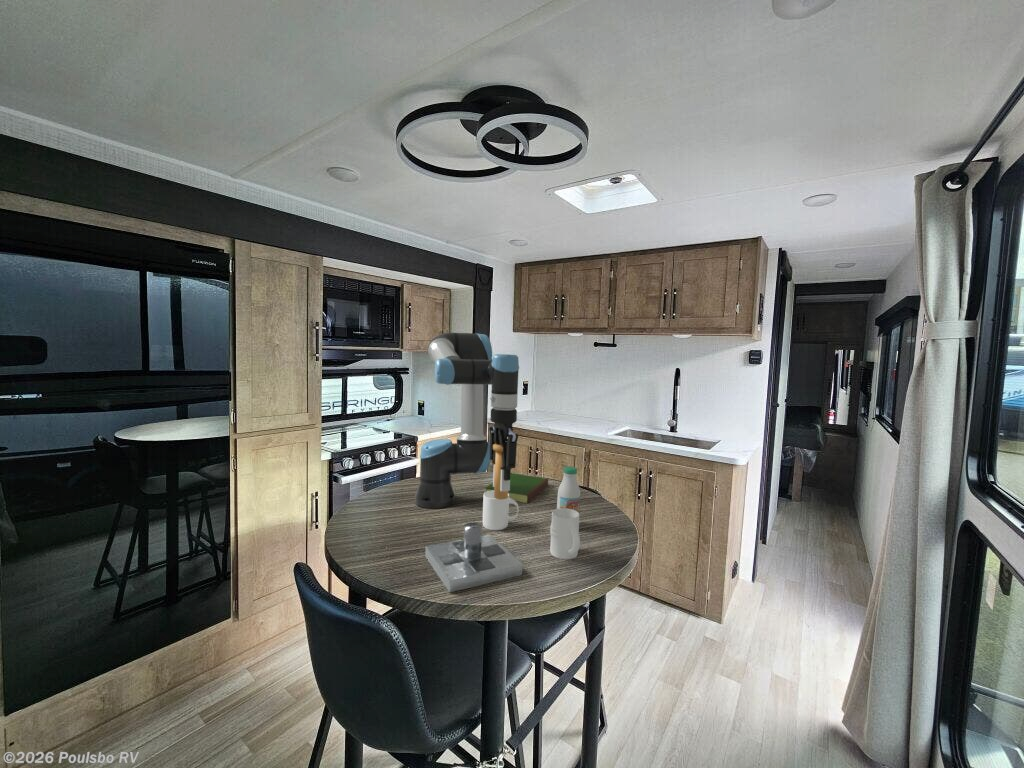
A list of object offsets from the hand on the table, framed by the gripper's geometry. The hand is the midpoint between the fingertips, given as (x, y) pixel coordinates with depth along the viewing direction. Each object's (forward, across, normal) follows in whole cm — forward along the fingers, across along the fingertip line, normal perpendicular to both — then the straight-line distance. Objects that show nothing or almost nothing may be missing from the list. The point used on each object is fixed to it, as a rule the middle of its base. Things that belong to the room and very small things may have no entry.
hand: (501, 488), depth 126 cm
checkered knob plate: (+19, +5, -11) cm, 22 cm away
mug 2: (+19, +11, +16) cm, 27 cm away
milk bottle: (+19, -6, +30) cm, 36 cm away
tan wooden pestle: (+3, 0, 0) cm, 3 cm away
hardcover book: (+19, -45, +32) cm, 59 cm away
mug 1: (+19, -16, +9) cm, 26 cm away
